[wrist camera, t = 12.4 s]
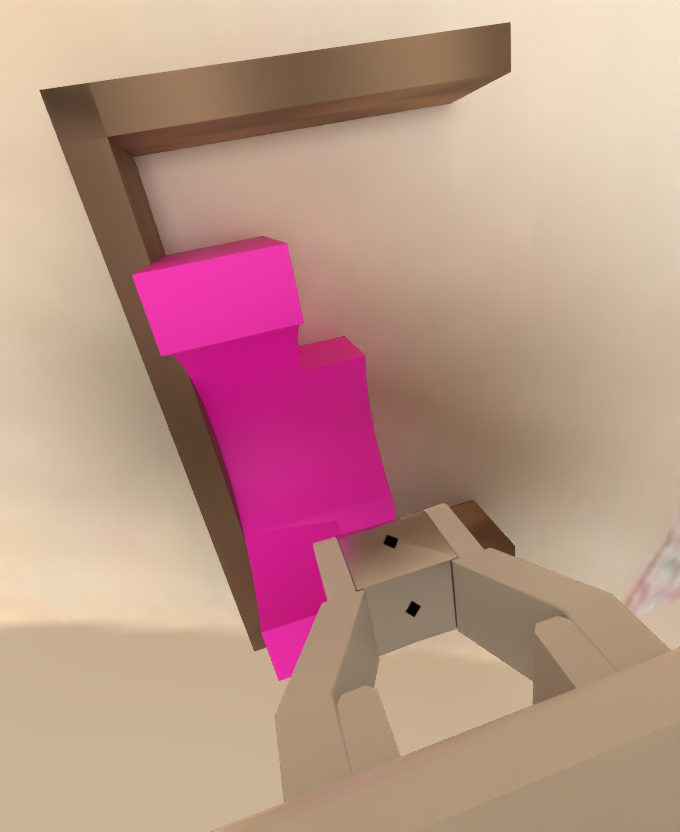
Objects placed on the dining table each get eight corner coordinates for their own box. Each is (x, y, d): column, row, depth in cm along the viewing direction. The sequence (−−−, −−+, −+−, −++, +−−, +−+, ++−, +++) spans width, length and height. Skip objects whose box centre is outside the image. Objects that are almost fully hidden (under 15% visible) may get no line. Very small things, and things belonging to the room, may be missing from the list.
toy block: (375, 517, 25) (432, 627, 18) (262, 551, 24) (279, 681, 17) (323, 223, 18) (382, 223, 11) (167, 255, 17) (132, 275, 11)
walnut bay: (448, 64, 17) (510, 22, 13) (474, 517, 26) (514, 564, 22) (83, 122, 15) (39, 89, 11) (249, 587, 24) (254, 651, 20)
